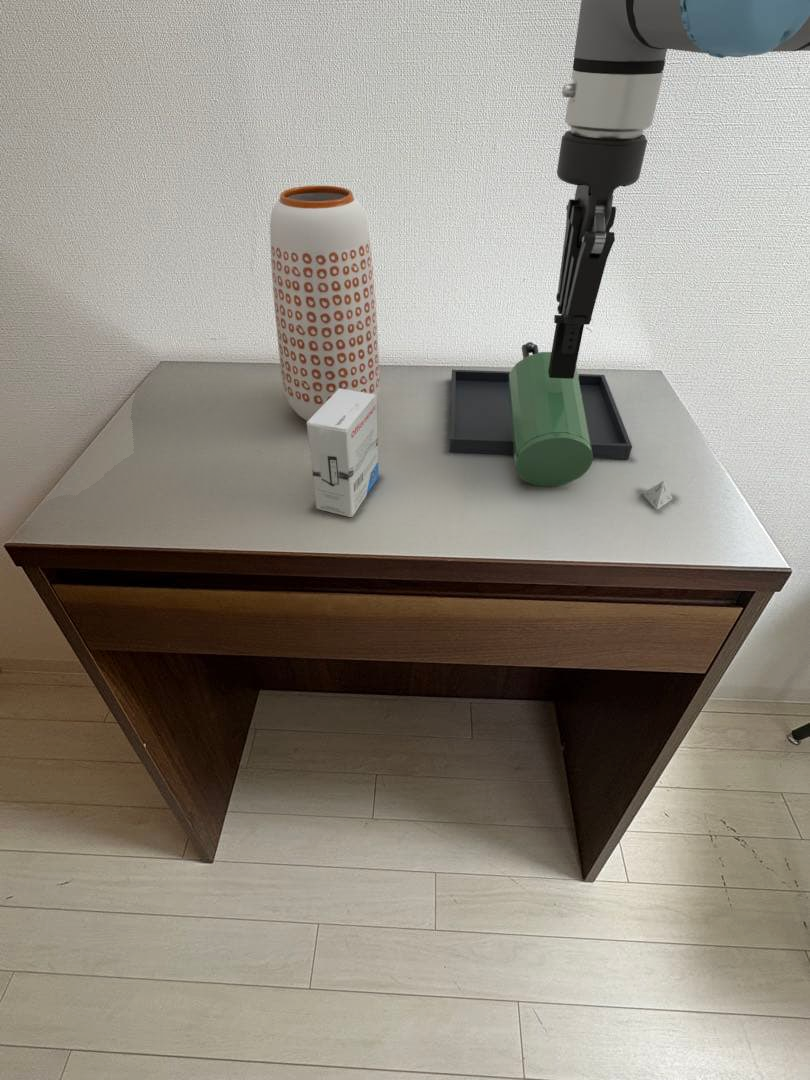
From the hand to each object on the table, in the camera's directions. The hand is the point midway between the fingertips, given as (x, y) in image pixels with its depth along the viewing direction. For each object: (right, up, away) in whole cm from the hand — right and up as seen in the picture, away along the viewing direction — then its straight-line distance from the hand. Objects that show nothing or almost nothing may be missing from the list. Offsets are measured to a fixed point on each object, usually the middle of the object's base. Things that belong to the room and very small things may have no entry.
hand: (560, 375), depth 71 cm
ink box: (-25, -13, +3) cm, 28 cm away
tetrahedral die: (+12, -15, +3) cm, 19 cm away
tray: (0, -1, +17) cm, 17 cm away
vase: (-28, -1, +18) cm, 33 cm away
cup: (-1, -10, +1) cm, 10 cm away
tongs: (0, 0, +11) cm, 11 cm away
